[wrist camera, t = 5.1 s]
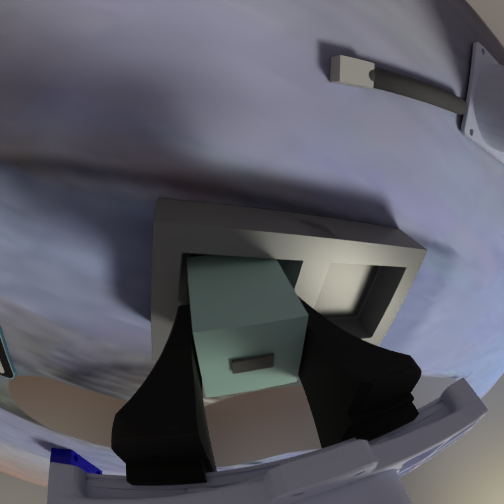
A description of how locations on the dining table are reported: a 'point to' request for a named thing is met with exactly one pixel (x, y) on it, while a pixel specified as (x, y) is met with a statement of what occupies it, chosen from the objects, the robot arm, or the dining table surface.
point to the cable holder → (73, 460)
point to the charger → (244, 323)
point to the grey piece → (286, 261)
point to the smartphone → (5, 360)
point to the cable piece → (391, 83)
